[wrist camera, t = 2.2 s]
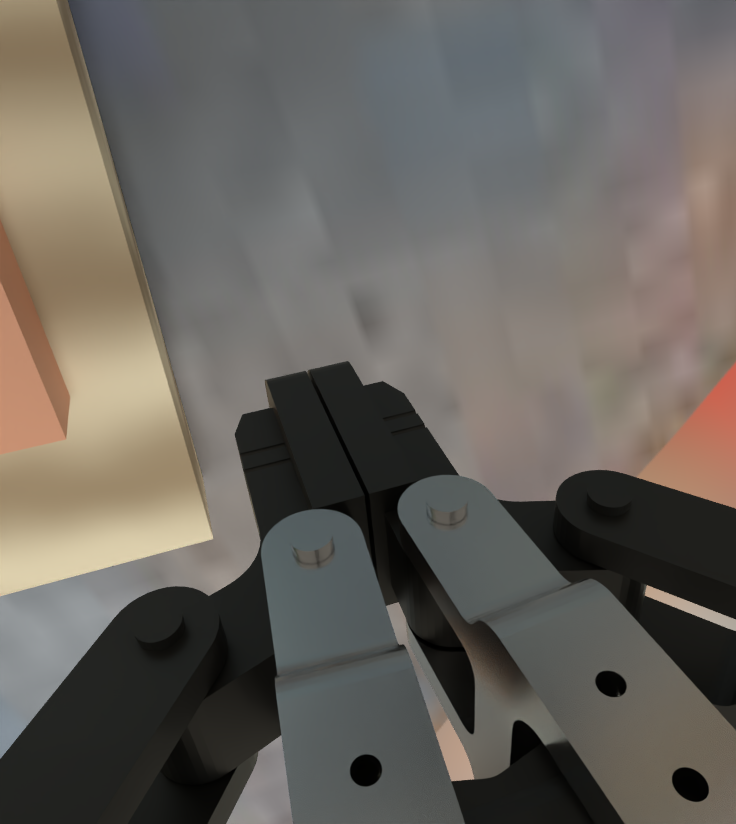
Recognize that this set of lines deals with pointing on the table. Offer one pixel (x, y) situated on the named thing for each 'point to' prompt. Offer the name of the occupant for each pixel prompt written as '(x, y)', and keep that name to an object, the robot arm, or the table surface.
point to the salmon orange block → (26, 367)
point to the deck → (84, 329)
